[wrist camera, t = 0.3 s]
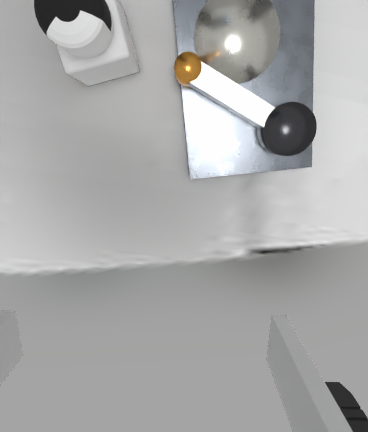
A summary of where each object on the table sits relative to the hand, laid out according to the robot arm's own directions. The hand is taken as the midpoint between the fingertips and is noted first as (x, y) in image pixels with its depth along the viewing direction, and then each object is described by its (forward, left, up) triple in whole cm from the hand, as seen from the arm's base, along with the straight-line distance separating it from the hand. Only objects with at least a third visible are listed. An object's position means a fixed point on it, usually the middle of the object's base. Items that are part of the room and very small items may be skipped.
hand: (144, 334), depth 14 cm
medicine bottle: (-21, -6, -27) cm, 35 cm away
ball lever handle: (-13, +10, -25) cm, 30 cm away
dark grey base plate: (-17, +11, -27) cm, 34 cm away
